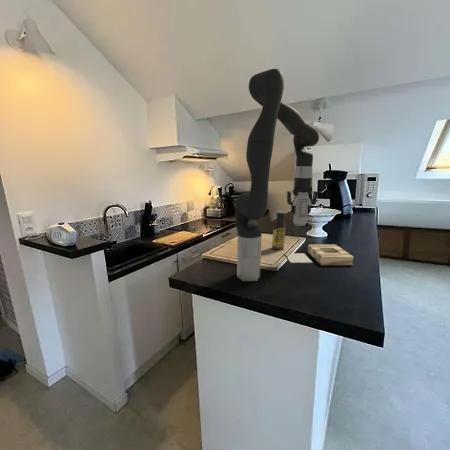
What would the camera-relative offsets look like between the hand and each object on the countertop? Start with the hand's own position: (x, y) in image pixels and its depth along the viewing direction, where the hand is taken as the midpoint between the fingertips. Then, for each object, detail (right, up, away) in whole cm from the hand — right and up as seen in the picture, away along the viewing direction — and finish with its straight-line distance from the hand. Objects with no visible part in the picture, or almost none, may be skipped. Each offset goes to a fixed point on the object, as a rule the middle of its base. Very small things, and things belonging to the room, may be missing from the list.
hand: (300, 213), depth 119 cm
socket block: (+15, -21, +5) cm, 27 cm away
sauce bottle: (-6, -18, +19) cm, 27 cm away
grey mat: (0, -21, +5) cm, 22 cm away
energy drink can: (0, -5, +1) cm, 5 cm away
